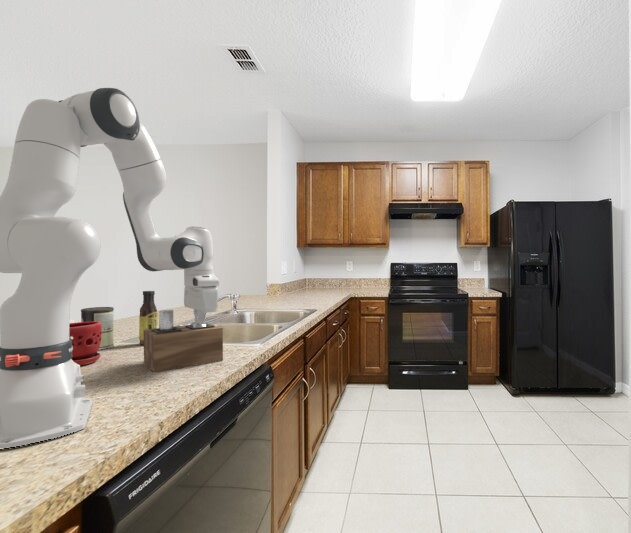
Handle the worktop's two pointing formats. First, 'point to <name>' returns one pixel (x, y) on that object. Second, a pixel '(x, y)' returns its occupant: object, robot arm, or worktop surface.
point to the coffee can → (106, 321)
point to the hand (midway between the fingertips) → (199, 324)
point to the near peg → (166, 320)
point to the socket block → (182, 346)
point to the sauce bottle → (147, 314)
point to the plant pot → (85, 341)
